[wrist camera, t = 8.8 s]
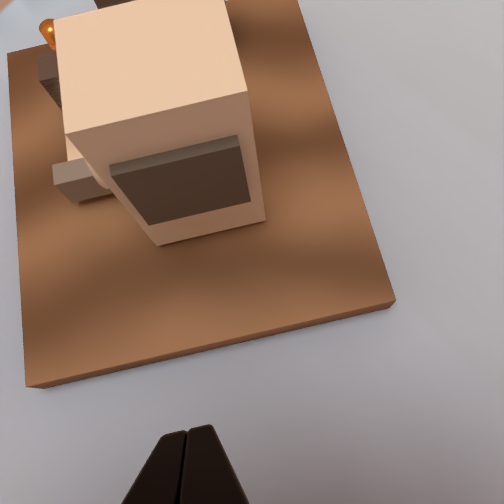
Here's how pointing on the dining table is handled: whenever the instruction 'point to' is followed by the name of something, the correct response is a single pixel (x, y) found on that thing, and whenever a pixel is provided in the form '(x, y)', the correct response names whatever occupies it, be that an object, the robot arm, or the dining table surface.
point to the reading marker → (49, 63)
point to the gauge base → (201, 247)
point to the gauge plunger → (159, 116)
